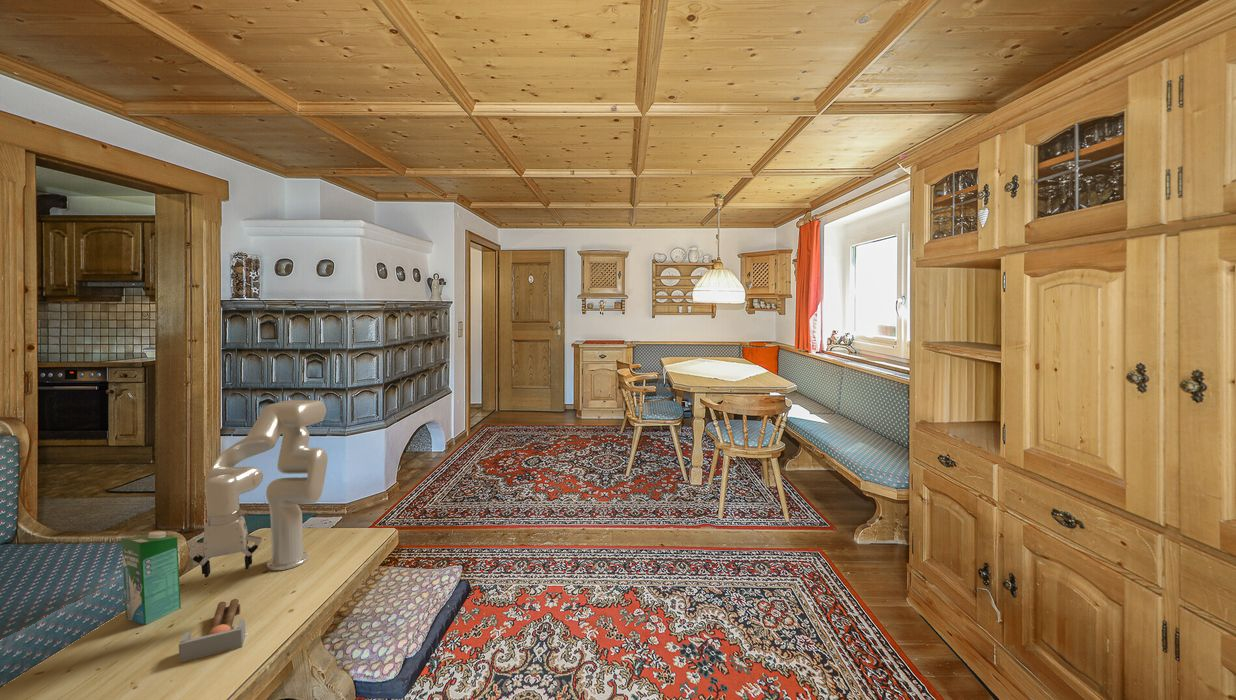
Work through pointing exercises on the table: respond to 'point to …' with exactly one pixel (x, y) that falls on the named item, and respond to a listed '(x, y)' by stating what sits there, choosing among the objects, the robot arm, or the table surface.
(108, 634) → the table surface
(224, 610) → the brown piece
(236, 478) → the robot arm
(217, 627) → the ball
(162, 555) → the milk carton
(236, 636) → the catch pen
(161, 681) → the table surface
